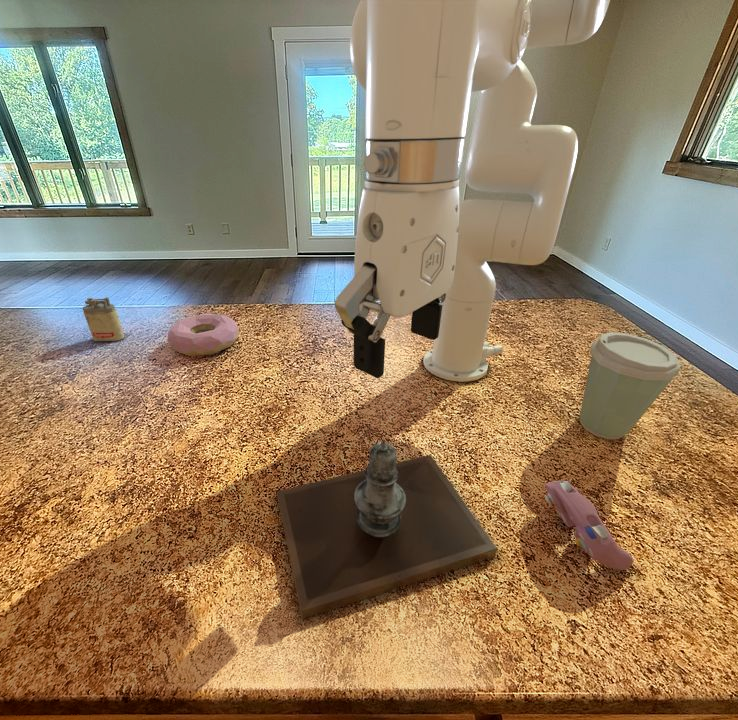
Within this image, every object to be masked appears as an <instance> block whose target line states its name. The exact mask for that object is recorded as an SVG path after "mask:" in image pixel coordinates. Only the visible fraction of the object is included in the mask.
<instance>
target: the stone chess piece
mask: <svg viewBox="0 0 738 720" xmlns="http://www.w3.org/2000/svg"><path fill="white" fill-rule="evenodd" d="M368 453H369V454H368V465H367V466H365V469H364V470H365V475H366V478H367V479H366V480H364V481H363V482H361V483H360V484H359V485H358V487H357V488H356V490H355V495H354V499H355V503H356V505H357V507H358V510H357V517H356V518H357V522H358V524H359V526H360V528H361V529H362V530H363V531H364V532H366V533H367V534H369V535H372V536H375V537H386V536H389V535H391V534H393V533H394V532H396V531H397V530H398V528H399V526H400V523H401V515H400V513H401V512H402V510H403V509H404V507H405V503H406V496H405V493H404V491H403V489H402V488H401V487H400V486H399V485H398V484H397V483H396V480H397V479H398V471H397V469H396V463H397V457H398V456H397V455H398V454H397V451H396V448H394V447H393V446H392V445H391V444H389V443H387V442H386V441H385V440H382V441H380V442H378V443H376V444H374V445H373V446H372V447H371V448H370V450H369V452H368Z"/></svg>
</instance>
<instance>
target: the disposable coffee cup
mask: <svg viewBox="0 0 738 720" xmlns="http://www.w3.org/2000/svg"><path fill="white" fill-rule="evenodd" d="M589 348H590V349H589V354H590V361H589V366H588V370H587V371H588V372H587V377H586V382H585V386H584V391H583V396H582V402H581V406H580V407H581V408H580V412H579V417H578V419H579V423H580V424H581V426H582V427H583V429H584V430H586V431H587V432H588V433H590V434H592V435H593V436H595V437H598V438H602V439H605V440H619V439H621V438H623V437H624V436H625V435H628V434H629V433H630V432H631V430H632V429H633V428H634V427H635V426H636V425H637V423H638V422H639V421H640V420H641V418H642V417H643V416H644V415H645V414H646V412H647V411H649V409H650V407H651V406H652V405H653V404H654V402H655V401H656V400H657V399H658V398H659V396H660V395H661V394H662V393H663V392H664V390H665V389H666V388H667V387H668V386H669V384H670V383H671V382H672V380H673V379H674V378H675V377H678V376H680V374H679V373H680V371H681V365H680V359H679V358H678V357H677V355H676V354H675V353H673V352H672V351H671V350H670V349H668V348H667V347H665V346H664V345H662V344H660V343H658V342H655V341H652V340H650V339H648V338H646V337H642V336H637V335H634V334H631V333H630V334H629V333H623V332H614V331H609V332H607V333H602V334H599V337H598V339H596V340H594V341H593V342H592V344H591V345H590V347H589Z"/></svg>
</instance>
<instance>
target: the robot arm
mask: <svg viewBox="0 0 738 720" xmlns="http://www.w3.org/2000/svg"><path fill="white" fill-rule="evenodd" d="M610 3H611V0H359V3H358V6H357V7H356V10H355V13H354V16H353V19H352V24H351V27H350V35H349V56H350V62H351V69H352V70H353V73H354V76H355V78H356V80H357V82H358V83H359V85H360V86H361V88H363V89H364V90H365V114H364V115H365V118H364V119H365V121H364V123H365V124H364V139H365V140H364V160H363V167H364V171H363V172H364V173H363V174H364V175H363V176H364V178H363V180H364V181H363V185H364V186H363V187H364V188H362V192H361V197H360V203H359V208H358V209H359V210H358V217H357V223H356V234H355V244H354V245H355V246H354V259H353V260H354V261H353V262H354V263H353V278H352V279H351V280H350V281H349V282H348V284H347V285H346V286H345V287H344V288H343V290H342V291H341V292H340V293H339V294H338V295H337V296H336V298H335V300H334V304H333V305H334V308H335V310H336V311H337V314H338V316H339V318H340V320H341V321H340V323H341V325H342V326H343V327H345V328H346V329H347V330H348V333H350V334H352V335H353V367H354V368H355V369H356V370H357V371H361V372H363V373H365V374H366V375H369V376H371V377H373V378H376V379H380V378H381V377H383V376H384V371H385V356H386V355H385V353H386V339H385V338H383V337H382V335H383V332H384V331H385V328H386V326H387V324H388V322H389V319H390V317H393V318H396V319H400V318H404V317H405V316H407V315H410V314H411V322H410V332H411V333H412V334H414V335H418V336H421V337H423V338H426V339H428V340H432V341H433V344H432V349H430V350H428V351H427V352H425V354H424V355H423V359H422V360H423V361H422V362H423V366H424V368H425V369H426V370H427V372H429V373H430V374H432V375H434V376H435V377H438V378H440V379H443V380H446V381H451V382H456V383H457V382H458V383H464V382H465V383H468V382H473V381H478V380H480V379H482V378H483V377H484V376H486V374H487V372H488V369H489V363H488V362H487V360H486V359H489V358H490V356H498V355H502V354H503V352H504V349H503V346H502V345H500V344H497V345H491V346H490V343H489V342H488V341H486V338H487V333H488V328H489V323H490V318H491V315H492V310H493V304H494V300H495V295H496V292H497V291H496V290H497V283H496V279H495V275H494V274H493V273H494V272H493V271H492V269H491V268H490V266H489V263H487V262H491V263H492V262H495V263H504V264H511V265H512V264H513V265H521V266H538V265H540V264H543V263H544V262H546V261H547V260H548V258H549V257H550V255H551V253H552V251H553V249H554V246H555V243H556V240H557V237H558V233H559V229H560V226H561V221H562V217H563V213H564V209H565V206H566V202H567V198H568V194H569V189H570V186H571V183H572V179H573V175H574V171H575V167H576V161H577V157H578V150H579V149H578V148H579V141H578V135H577V133H576V131H575V129H574V128H572V127H570V126H567V125H563V124H532V118H533V114H534V110H535V106H536V102H537V97H538V88H537V85H536V82H535V80H534V77H533V75H532V73H531V71H530V70H529V69H528V67H527V65H526V64H525V62H523V61H522V58H523V55H524V53H525V50H532V49H541V48H552V47H561V46H572V45H576V44H580V43H582V42H585V41H587V40H588V39H590V38H592V36H593V35H594V34H595V33H596V32H597V31H598V30H599V28H600V27H601V25H602V23H603V20H604V19H605V16H606V15H607V14H606V13H607V11H608V8H609V5H610ZM475 92H478V93H477V95H478V98H477V105H476V110H475V115H474V119H473V125H472V129H471V134H470V139H469V144H468V149H467V154H466V159H465V166H464V180H465V184H466V185H467V187H468V188H470V189H472V190H475V191H479V192H484V193H499V194H522V195H529V196H531V197H532V199H533V201H518V200H517V201H516V200H504V199H488V198H487V199H486V198H484V199H483V198H471V199H470V198H469V199H465V200H461V201H460V187H459V186H460V179H461V171H462V165H463V155H464V149H465V141H466V138H465V137H466V134H467V127H468V119H469V112H470V105H471V97H472V93H475ZM378 301H379V303H378ZM370 312H374V313H377V314H376V316H375V318H374V320H373V322H372V323H370V322H369V321H368V320H367V318H368V316H369V313H370Z"/></svg>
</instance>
